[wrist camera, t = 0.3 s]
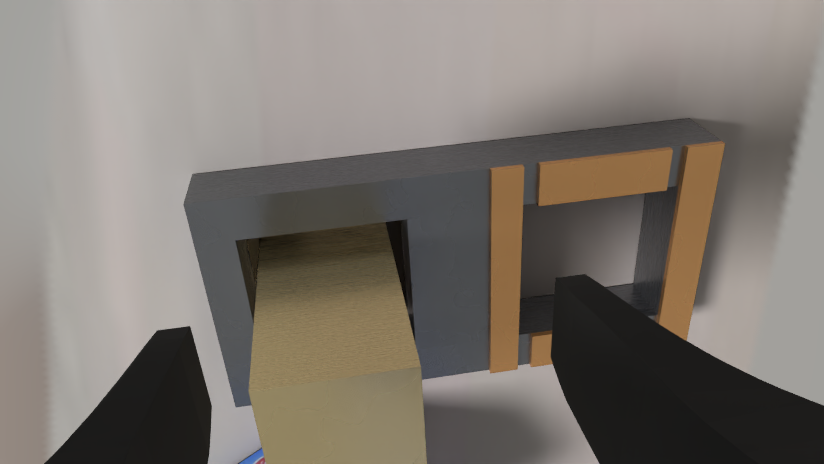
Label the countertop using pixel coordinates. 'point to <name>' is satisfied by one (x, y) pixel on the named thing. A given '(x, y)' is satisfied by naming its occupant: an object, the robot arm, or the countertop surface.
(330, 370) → the peg
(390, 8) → the countertop surface
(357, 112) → the countertop surface
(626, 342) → the robot arm
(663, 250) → the rail
